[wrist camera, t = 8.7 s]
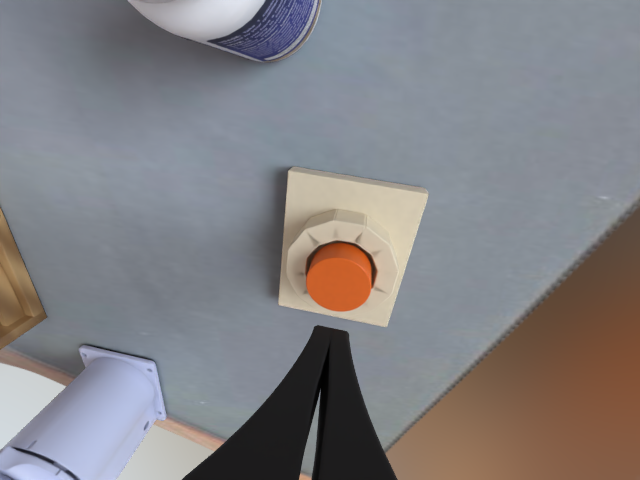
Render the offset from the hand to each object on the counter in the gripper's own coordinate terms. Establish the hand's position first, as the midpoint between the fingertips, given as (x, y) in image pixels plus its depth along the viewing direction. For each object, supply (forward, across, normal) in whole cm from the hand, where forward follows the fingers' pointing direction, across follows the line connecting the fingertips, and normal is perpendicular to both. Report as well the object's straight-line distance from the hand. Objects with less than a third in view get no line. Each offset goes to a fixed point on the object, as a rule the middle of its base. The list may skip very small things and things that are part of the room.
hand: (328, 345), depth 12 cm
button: (+6, 0, 0) cm, 6 cm away
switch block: (+8, 0, 0) cm, 8 cm away
